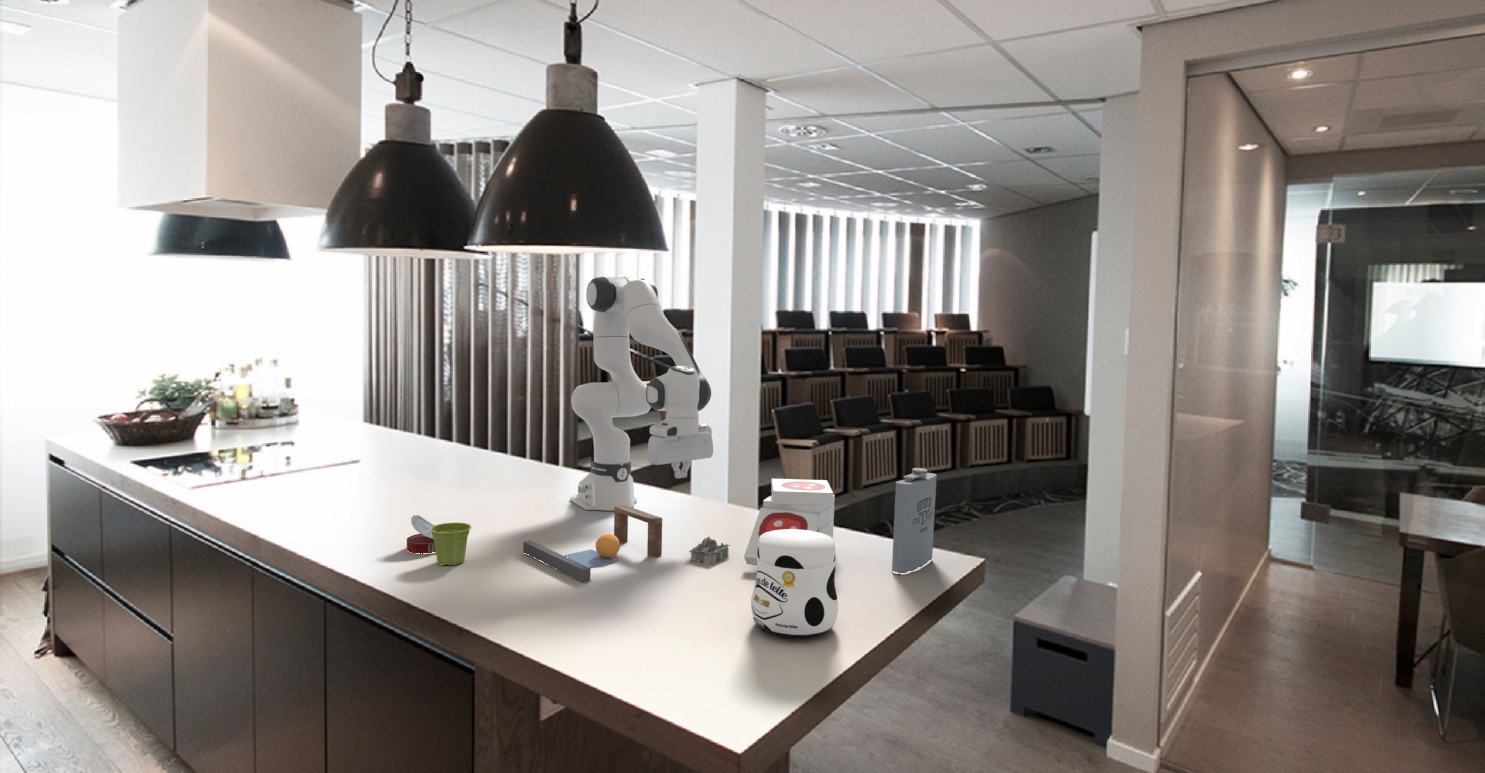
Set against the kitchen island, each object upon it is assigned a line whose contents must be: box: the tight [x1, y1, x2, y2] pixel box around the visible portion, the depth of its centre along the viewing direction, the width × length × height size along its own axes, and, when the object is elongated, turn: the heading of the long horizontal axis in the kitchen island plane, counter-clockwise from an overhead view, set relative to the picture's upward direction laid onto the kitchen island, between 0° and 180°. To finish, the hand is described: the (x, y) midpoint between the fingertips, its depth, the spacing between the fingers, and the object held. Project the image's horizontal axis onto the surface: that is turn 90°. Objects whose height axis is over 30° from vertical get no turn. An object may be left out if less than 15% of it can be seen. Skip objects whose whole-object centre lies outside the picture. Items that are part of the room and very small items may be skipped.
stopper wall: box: [522, 539, 592, 584], centre depth 196 cm, size 28×2×3 cm, turn 43°
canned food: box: [406, 514, 436, 554], centre depth 207 cm, size 11×10×10 cm
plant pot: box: [430, 522, 472, 566], centre depth 196 cm, size 9×9×9 cm
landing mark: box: [563, 548, 619, 569], centre depth 201 cm, size 12×12×1 cm
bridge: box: [613, 505, 663, 558], centre depth 212 cm, size 3×17×10 cm, turn 43°
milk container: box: [750, 529, 839, 638], centre depth 162 cm, size 17×17×18 cm
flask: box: [891, 467, 938, 573], centre depth 203 cm, size 17×5×25 cm, turn 143°
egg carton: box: [688, 536, 731, 565], centre depth 207 cm, size 11×8×4 cm
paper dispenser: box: [743, 478, 836, 567], centre depth 206 cm, size 19×30×18 cm, turn 159°
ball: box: [595, 533, 621, 558], centre depth 204 cm, size 6×6×6 cm
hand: (680, 477), depth 220 cm, fingers closed
